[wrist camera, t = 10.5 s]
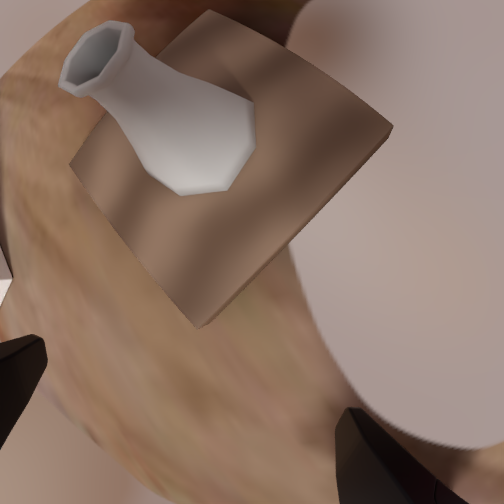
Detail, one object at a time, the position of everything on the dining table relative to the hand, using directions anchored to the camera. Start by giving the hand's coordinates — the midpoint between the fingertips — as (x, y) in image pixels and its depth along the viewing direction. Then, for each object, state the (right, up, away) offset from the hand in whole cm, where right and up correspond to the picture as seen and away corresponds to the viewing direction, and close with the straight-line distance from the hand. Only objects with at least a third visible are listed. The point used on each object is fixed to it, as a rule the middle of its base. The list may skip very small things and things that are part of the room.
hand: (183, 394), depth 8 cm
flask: (-1, +10, +10) cm, 15 cm away
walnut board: (-1, +11, +12) cm, 16 cm away
